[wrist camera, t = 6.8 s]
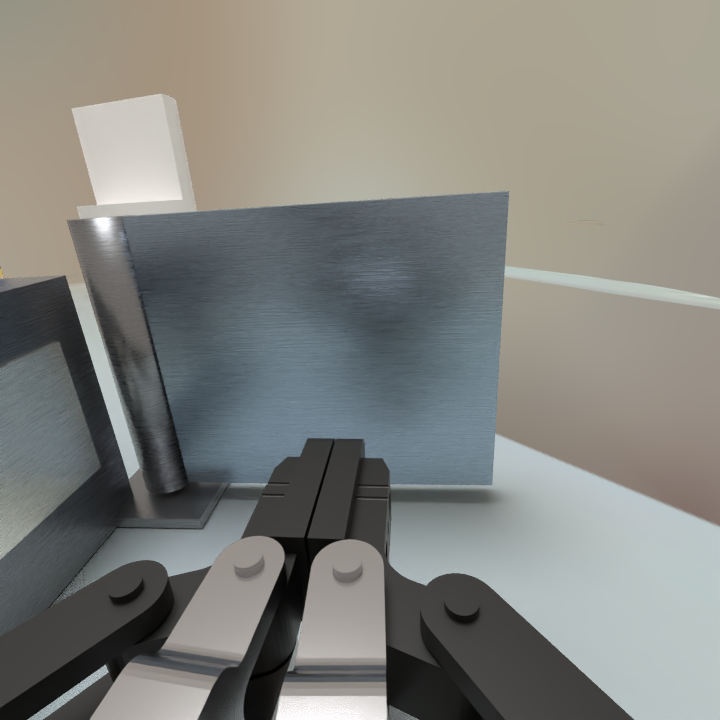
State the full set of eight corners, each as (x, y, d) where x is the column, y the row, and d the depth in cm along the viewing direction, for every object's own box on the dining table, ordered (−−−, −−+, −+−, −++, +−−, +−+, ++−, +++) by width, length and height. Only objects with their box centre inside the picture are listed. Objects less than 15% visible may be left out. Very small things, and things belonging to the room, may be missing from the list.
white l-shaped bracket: (154, 278, 85) (116, 115, 75) (230, 277, 79) (200, 103, 69) (76, 299, 70) (15, 99, 59) (163, 301, 64) (112, 81, 54)
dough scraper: (135, 493, 20) (51, 221, 16) (161, 463, 23) (94, 217, 18) (494, 497, 18) (513, 191, 14) (484, 464, 21) (498, 191, 16)
